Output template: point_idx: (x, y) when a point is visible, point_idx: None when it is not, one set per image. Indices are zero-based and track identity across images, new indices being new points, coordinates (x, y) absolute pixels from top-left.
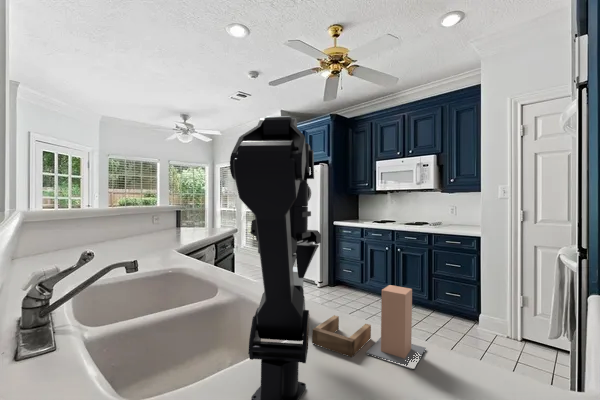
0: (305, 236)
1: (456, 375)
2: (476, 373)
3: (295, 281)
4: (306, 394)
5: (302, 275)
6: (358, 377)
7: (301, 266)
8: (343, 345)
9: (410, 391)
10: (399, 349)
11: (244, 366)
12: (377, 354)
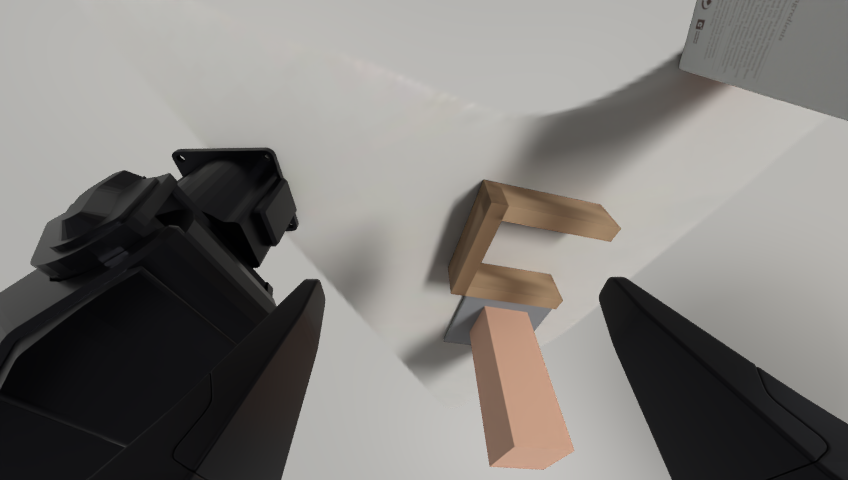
0: None
1: (451, 368)
2: (465, 380)
3: None
4: None
5: (607, 309)
6: (384, 286)
7: (654, 361)
8: (456, 267)
9: (385, 336)
10: (474, 338)
11: (265, 40)
12: (468, 303)
